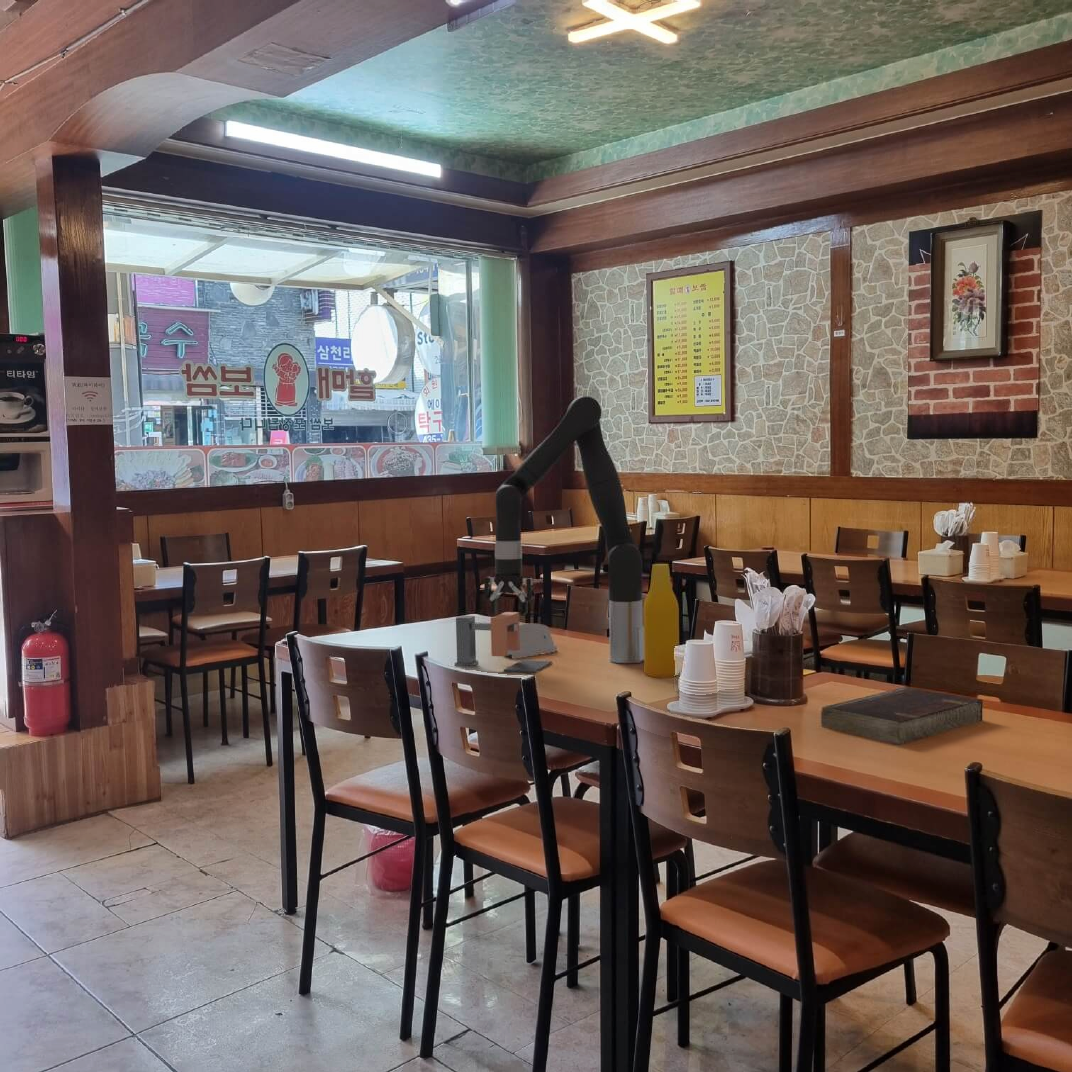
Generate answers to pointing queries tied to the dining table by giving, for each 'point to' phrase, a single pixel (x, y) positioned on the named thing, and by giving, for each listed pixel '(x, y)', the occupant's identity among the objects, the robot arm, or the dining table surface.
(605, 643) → the dining table surface
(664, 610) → the beer bottle
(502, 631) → the pink block
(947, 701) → the hardback book
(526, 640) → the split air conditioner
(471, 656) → the bracket
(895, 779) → the dining table surface
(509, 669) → the mat
